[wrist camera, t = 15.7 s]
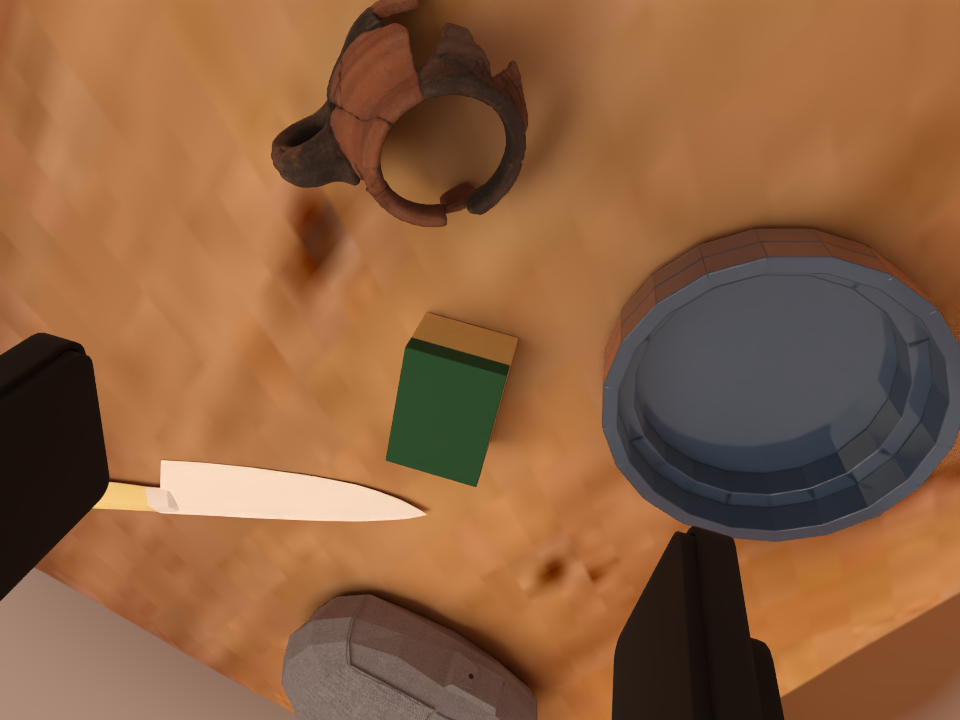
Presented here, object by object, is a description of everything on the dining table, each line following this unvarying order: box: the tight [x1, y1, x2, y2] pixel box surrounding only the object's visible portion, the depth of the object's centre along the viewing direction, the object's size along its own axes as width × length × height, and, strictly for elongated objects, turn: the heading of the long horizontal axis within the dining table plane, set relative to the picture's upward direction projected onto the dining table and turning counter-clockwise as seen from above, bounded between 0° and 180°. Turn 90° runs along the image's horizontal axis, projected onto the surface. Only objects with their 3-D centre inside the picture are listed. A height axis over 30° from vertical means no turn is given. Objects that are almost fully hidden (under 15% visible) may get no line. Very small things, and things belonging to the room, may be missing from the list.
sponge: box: [386, 313, 518, 487], centre depth 39 cm, size 8×6×4 cm
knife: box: [93, 460, 427, 521], centre depth 49 cm, size 1×33×5 cm
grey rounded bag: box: [282, 594, 537, 720], centre depth 52 cm, size 15×8×20 cm
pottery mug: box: [271, 0, 528, 227], centre depth 31 cm, size 12×10×8 cm
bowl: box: [602, 229, 960, 542], centre depth 35 cm, size 17×17×4 cm
